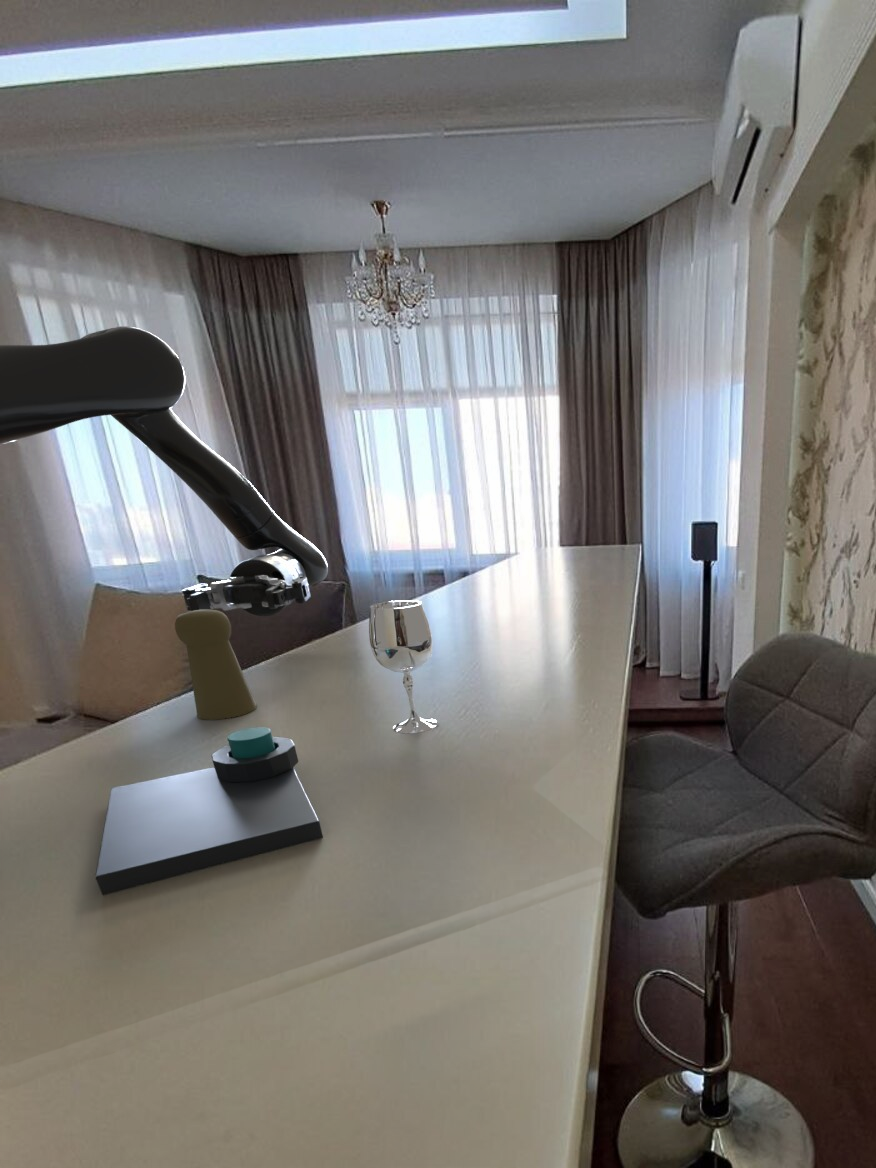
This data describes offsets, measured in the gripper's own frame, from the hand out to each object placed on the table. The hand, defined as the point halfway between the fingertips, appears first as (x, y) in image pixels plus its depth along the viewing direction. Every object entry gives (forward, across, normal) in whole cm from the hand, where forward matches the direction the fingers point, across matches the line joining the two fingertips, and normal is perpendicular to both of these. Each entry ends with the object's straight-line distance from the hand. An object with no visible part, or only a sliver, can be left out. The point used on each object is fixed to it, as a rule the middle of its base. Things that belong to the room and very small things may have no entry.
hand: (232, 602), depth 82 cm
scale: (+41, +8, +10) cm, 43 cm away
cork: (+11, 0, +10) cm, 15 cm away
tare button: (+34, +9, +7) cm, 36 cm away
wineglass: (+23, +21, +10) cm, 33 cm away
